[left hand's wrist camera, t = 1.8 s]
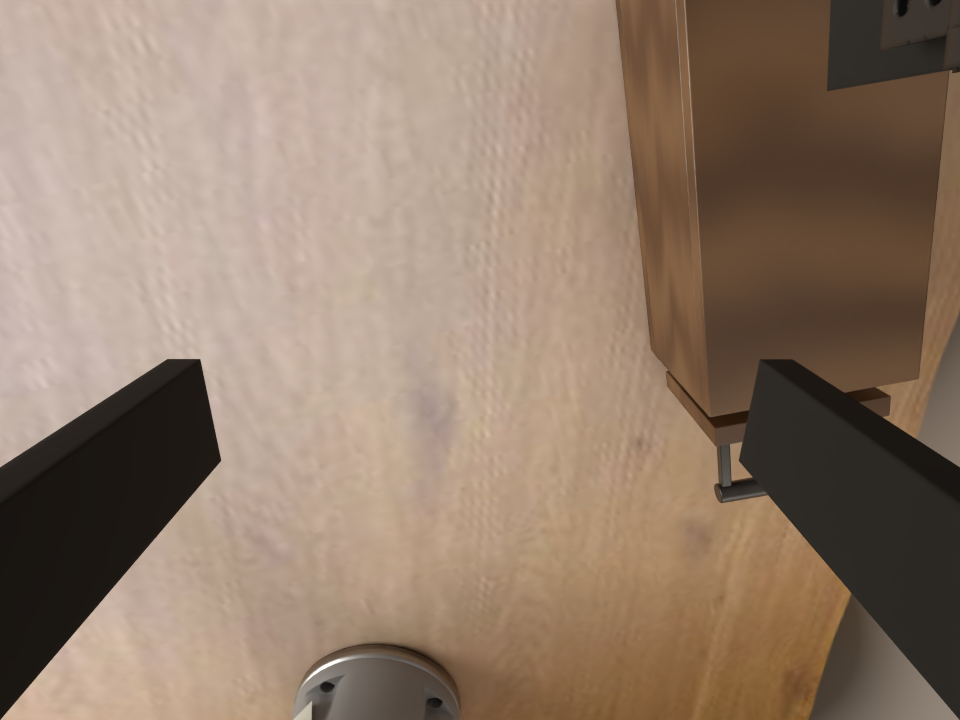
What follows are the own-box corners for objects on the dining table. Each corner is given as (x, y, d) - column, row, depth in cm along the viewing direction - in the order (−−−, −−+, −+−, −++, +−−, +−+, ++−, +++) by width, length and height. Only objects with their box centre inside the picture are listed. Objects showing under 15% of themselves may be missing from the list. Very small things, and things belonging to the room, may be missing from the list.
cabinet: (804, 320, 36) (919, 379, 27) (650, 350, 37) (709, 418, 27) (809, -51, 28) (973, -154, 19) (614, -3, 29) (679, -78, 20)
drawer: (802, 435, 38) (882, 505, 31) (673, 458, 39) (720, 532, 31) (807, 27, 29) (924, -19, 21) (637, 67, 30) (692, 36, 22)
